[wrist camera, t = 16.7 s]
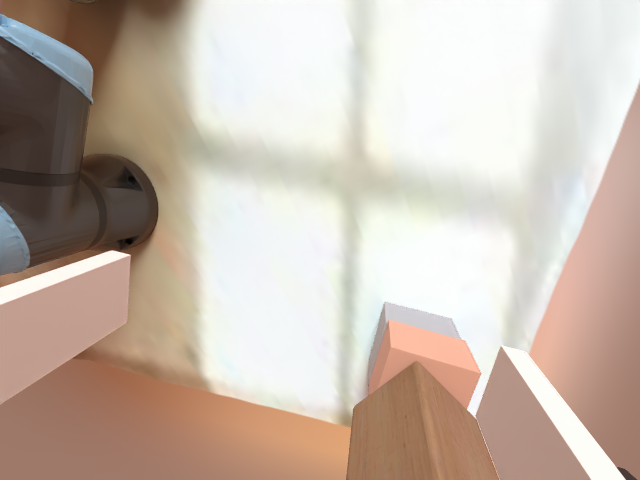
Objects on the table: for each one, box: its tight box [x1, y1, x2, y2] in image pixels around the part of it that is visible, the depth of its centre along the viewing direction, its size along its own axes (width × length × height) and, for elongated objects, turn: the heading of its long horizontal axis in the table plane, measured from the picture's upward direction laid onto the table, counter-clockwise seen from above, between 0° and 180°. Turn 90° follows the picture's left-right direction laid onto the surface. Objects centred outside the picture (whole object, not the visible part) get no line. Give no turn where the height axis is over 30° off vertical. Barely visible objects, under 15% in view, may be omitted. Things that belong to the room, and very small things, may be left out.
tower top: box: [369, 319, 481, 410], centre depth 42 cm, size 10×10×7 cm
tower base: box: [368, 302, 461, 386], centre depth 49 cm, size 10×10×7 cm
